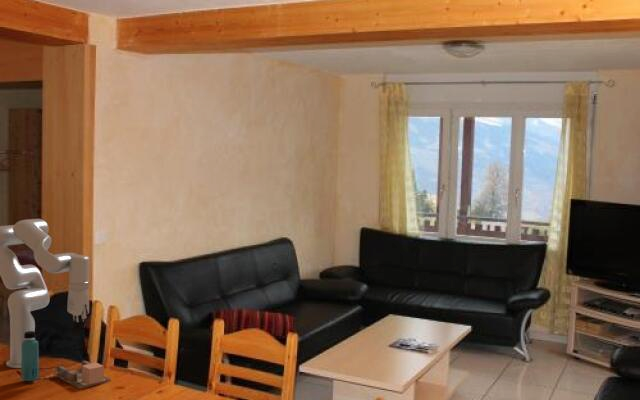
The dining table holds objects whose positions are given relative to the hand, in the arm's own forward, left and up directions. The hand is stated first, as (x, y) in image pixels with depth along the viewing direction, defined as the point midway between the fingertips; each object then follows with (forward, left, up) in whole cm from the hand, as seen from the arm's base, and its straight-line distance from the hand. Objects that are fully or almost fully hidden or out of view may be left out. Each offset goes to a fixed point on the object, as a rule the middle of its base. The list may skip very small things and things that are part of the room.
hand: (78, 330), depth 270 cm
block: (+12, 0, -17) cm, 21 cm away
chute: (+4, 0, -19) cm, 19 cm away
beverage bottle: (-6, -17, -19) cm, 26 cm away
